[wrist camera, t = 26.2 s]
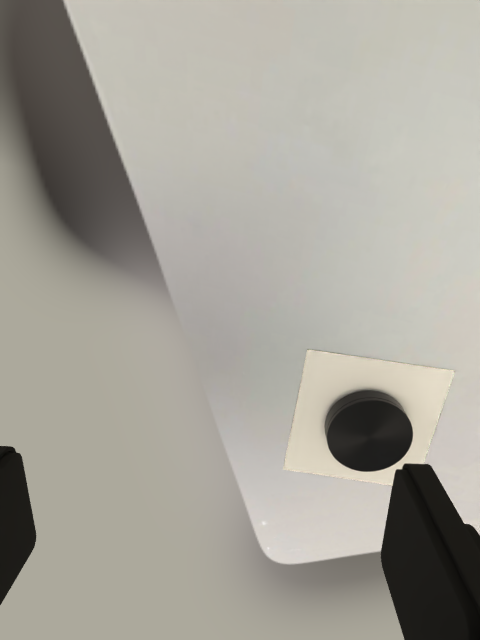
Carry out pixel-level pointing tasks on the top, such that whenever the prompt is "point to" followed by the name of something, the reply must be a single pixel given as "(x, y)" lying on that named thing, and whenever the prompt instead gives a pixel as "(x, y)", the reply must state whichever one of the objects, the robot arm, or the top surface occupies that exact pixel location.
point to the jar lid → (368, 431)
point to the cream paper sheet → (351, 376)
